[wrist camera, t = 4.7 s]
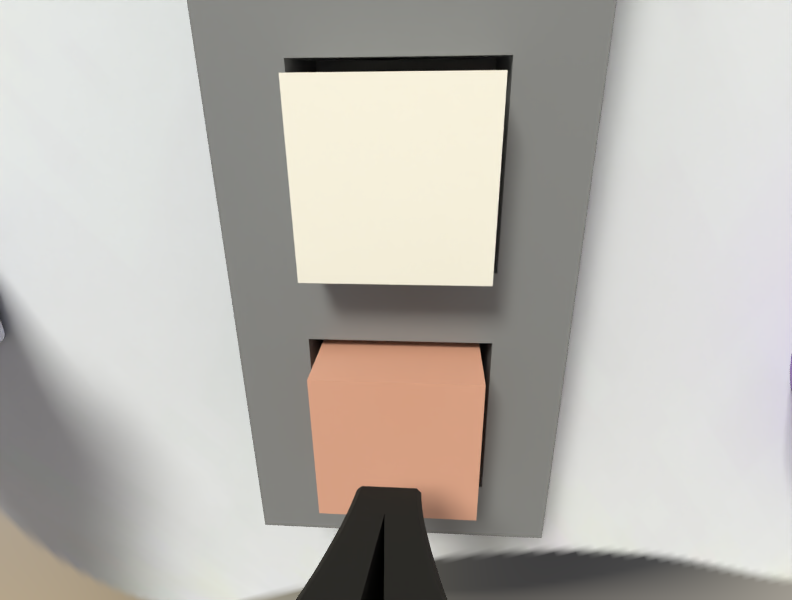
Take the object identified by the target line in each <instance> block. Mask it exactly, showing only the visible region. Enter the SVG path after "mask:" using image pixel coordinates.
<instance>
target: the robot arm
mask: <svg viewBox="0 0 792 600" xmlns="http://www.w3.org/2000/svg"><path fill="white" fill-rule="evenodd" d="M4 337H5V334H4V329H3V326H2V324H1V321H0V342H1V341H2V340H3V339H4ZM296 600H447V598H446V595H445V593H444V589H443V587H442V584H441V581H440V578H439V574H438V571H437V568H436V565H435V561H434V558H433V555H432V552H431V548H430V544H429V540H428V536H427V532H426V527H425V522H424V517H423V510H422V501H421V492H420V491H419V490H418V489H417V488H398V487H375V486H361V487H360V488H358V489H357V491H356V493H355V496H354V499H353V501H352V503H351V505H350V508H349V510H348V512H347V514H346V516H345V518H344V520H343V522H342V524H341V526H340V528H339V530H338V532H337V534H336V535H335V537H334V539H333V541H332V543H331V544H330V546H329V548H328V549H327V551H326V553H325V555H324V556H323V558H322V560H321V562H320V563H319V565H318V567H317V568H316V570H315V571H314V573H313V575H312V576H311V578H310V579H309V581H308V582H307V584H306V585H305V587H304V588H303V590H302V591H301V593H300V594H299V596H298V597H297V599H296Z"/></svg>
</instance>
